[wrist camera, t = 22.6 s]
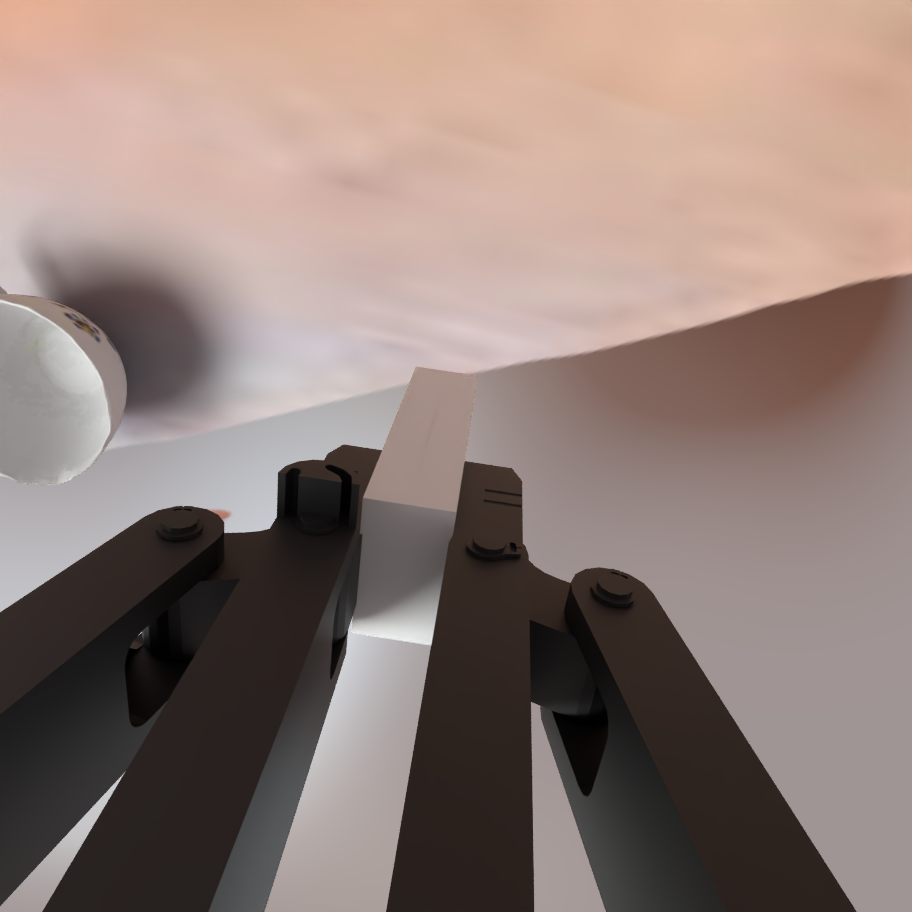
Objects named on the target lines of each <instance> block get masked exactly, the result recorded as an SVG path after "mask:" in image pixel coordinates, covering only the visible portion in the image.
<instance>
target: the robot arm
mask: <svg viewBox="0 0 912 912" xmlns="http://www.w3.org/2000/svg"><path fill="white" fill-rule="evenodd" d="M477 378H478V376H474V375H468V374H461V373H455V372H448V371H441V370H435V369H428V368H421V367H416V368H415V371H414V373H413V376H412V378H411V381H410V383H409V386H408V388H407V391H406V393H405V396H404V398H403V400H402V403H401V405H400V408H399V411H398V413H397V415H396V418H395V420H394V423H393V425H392V427H391V430H390V432H389V435H388V437H387V440H386V442H385V445H384V447H383V450H376V449H369V448H362V447H356V446H349V445H342V446H340V447H339V448H337V449H335V450H333V451H332V452H330V453H328V455H327V456H326V458H325V460H323V461H322V460H308V461H299V462H296V463H293V464H290V465H287V466H285V467H284V468H283V469H282V470H281V471H279V472H278V498H277V499H278V501H277V502H278V503H277V518H276V519H275V521H274V523H273V524H272V526H271V528H270V529H267V530H263V531H257V532H246V533H224V521H223V520H222V519H221V518H220V517H219V515H218V514H215V513H213V512H211V511H209V510H207V509H203V508H197V507H192V506H184V507H182V506H176V507H172V508H167V509H162V510H158V511H156V512H154V513H152V514H149V515H147V516H145V517H144V518H142V519H141V520H139V521H138V522H136V523H135V524H133V525H131V526H130V527H129V528H127V529H125V530H124V531H122V532H121V533H119V534H118V535H116V536H115V537H113V538H112V539H110V540H109V541H107V542H106V543H104V544H103V545H101V546H100V547H98V548H97V549H95V550H94V551H92V552H91V553H89V554H88V555H86V556H85V557H83V558H82V559H80V560H79V561H77V562H76V563H74V564H73V565H71V566H70V567H68V568H67V569H65V570H64V571H62V572H61V573H59V574H57V575H56V576H55V577H53V578H51V579H50V580H49V581H47V582H45V583H44V584H42V585H41V586H39V587H38V588H36V589H35V590H33V591H32V592H30V593H29V594H27V595H26V596H24V597H23V598H21V599H20V600H18V601H17V602H15V603H14V604H12V605H11V606H9V607H8V608H6V609H5V610H3V611H2V612H0V906H1V905H2V904H3V902H4V901H5V900H6V899H7V898H8V897H9V896H10V895H11V894H12V893H13V891H15V890H16V888H17V887H18V886H19V885H20V884H21V883H22V882H23V881H24V880H25V879H26V878H27V877H28V875H29V874H30V873H31V872H32V871H33V870H34V869H35V868H36V867H37V866H38V865H39V864H40V863H41V862H42V861H43V859H44V858H45V857H46V856H47V855H48V854H49V853H50V852H51V851H52V850H53V849H54V847H56V845H57V844H58V843H59V842H60V841H61V840H62V839H63V838H64V837H65V836H66V835H67V834H68V833H69V831H70V830H71V829H72V828H73V827H74V826H75V825H76V824H77V823H78V822H79V821H80V820H81V819H82V817H83V816H84V815H85V814H86V813H87V812H88V811H89V810H90V809H91V808H92V806H93V805H94V804H96V802H97V801H98V800H99V799H100V798H101V797H102V796H103V795H104V794H105V793H106V792H107V791H108V790H109V788H110V787H111V786H112V785H113V784H114V783H115V782H116V781H117V780H118V779H119V778H120V777H121V776H122V775H123V773H124V772H125V771H126V772H125V774H124V775H123V777H122V779H121V780H120V782H119V784H118V785H117V787H116V789H115V790H114V792H113V794H112V796H111V797H110V799H109V800H108V802H107V804H106V805H105V807H104V809H103V810H102V812H101V814H100V816H99V817H98V819H97V821H96V822H95V824H94V826H93V828H92V829H91V831H90V832H89V834H88V836H87V837H86V839H85V841H84V843H83V844H82V846H81V848H80V850H79V851H78V853H77V854H76V856H75V858H74V860H73V861H72V863H71V865H70V866H69V868H68V869H67V871H66V873H65V875H64V876H63V878H62V880H61V881H60V883H59V885H58V886H57V888H56V890H55V892H54V893H53V895H52V896H51V898H50V900H49V902H48V903H47V905H46V907H45V908H44V910H43V911H42V912H264V911H265V908H266V904H267V901H268V898H269V895H270V892H271V888H272V886H273V882H274V879H275V876H276V873H277V870H278V866H279V863H280V860H281V857H282V854H283V850H284V848H285V844H286V841H287V838H288V835H289V832H290V828H291V825H292V822H293V819H294V816H295V813H296V809H297V806H298V803H299V800H300V797H301V794H302V791H303V788H304V784H305V781H306V778H307V775H308V772H309V769H310V765H311V762H312V759H313V756H314V753H315V750H316V746H317V743H318V740H319V737H320V734H321V731H322V727H323V724H324V721H325V718H326V715H327V712H328V708H329V705H330V702H331V699H332V696H333V693H334V690H335V686H336V683H337V680H338V677H339V674H340V671H341V667H342V664H343V661H344V658H345V655H346V647H347V635H348V628H349V625H350V622H351V619H352V616H353V621H352V632H351V633H355V634H361V635H368V636H375V637H381V638H387V639H393V640H400V641H406V642H413V643H419V644H426V645H431V650H430V656H429V662H428V668H427V674H426V680H425V686H424V692H423V697H422V703H421V709H420V715H419V721H418V727H417V733H416V739H415V745H414V751H413V757H412V762H411V769H410V774H409V780H408V786H407V792H406V798H405V804H404V810H403V815H402V821H401V827H400V833H399V839H398V845H397V851H396V857H395V863H394V869H393V875H392V881H391V887H390V892H389V898H388V904H387V910H386V912H534V869H533V810H532V809H533V808H532V751H531V749H532V747H531V702H533V703H536V704H538V705H540V706H541V707H540V710H541V719H542V723H543V726H544V729H545V731H546V735H547V738H548V741H549V743H550V746H551V749H552V752H553V755H554V758H555V761H556V764H557V767H558V770H559V773H560V776H561V779H562V782H563V785H564V788H565V791H566V794H567V797H568V800H569V803H570V806H571V809H572V812H573V815H574V818H575V821H576V824H577V826H578V830H579V833H580V835H581V838H582V842H583V845H584V848H585V850H586V854H587V856H588V859H589V862H590V865H591V868H592V871H593V874H594V877H595V880H596V883H597V886H598V889H599V892H600V895H601V898H602V901H603V904H604V907H605V910H606V912H856V910H855V909H854V907H853V905H852V904H851V902H850V901H849V899H848V898H847V896H846V894H845V893H844V892H843V890H842V888H841V887H840V885H839V884H838V882H837V880H836V879H835V877H834V876H833V874H832V873H831V871H830V869H829V868H828V866H827V865H826V863H825V862H824V860H823V858H822V857H821V855H820V854H819V852H818V851H817V849H816V848H815V846H814V844H813V843H812V841H811V840H810V838H809V837H808V835H807V833H806V832H805V830H804V829H803V827H802V826H801V824H800V823H799V821H798V819H797V818H796V816H795V815H794V813H793V812H792V810H791V808H790V807H789V805H788V804H787V802H786V801H785V799H784V797H783V796H782V794H781V793H780V791H779V790H778V788H777V787H776V785H775V783H774V782H773V780H772V779H771V777H770V776H769V774H768V773H767V771H766V769H765V768H764V766H763V765H762V763H761V762H760V760H759V759H758V757H757V755H756V754H755V752H754V751H753V749H752V747H751V746H750V744H749V743H748V741H747V740H746V738H745V737H744V735H743V733H742V732H741V730H740V729H739V727H738V726H737V724H736V722H735V721H734V719H733V718H732V716H731V715H730V713H729V712H728V710H727V708H726V707H725V705H724V704H723V702H722V701H721V699H720V697H719V696H718V694H717V693H716V691H715V690H714V688H713V687H712V685H711V683H710V682H709V680H708V679H707V677H706V676H705V674H704V672H703V671H702V669H701V668H700V666H699V665H698V663H697V661H696V660H695V659H694V657H693V655H692V654H691V652H690V651H689V649H688V647H687V646H686V645H685V643H684V641H683V640H682V638H681V637H680V635H679V633H678V632H677V630H676V629H675V627H674V625H673V624H672V622H671V621H670V619H669V618H668V616H667V615H666V613H665V611H664V610H663V608H662V607H661V605H660V604H659V602H658V600H657V599H656V597H655V596H654V594H653V593H652V592H651V591H650V590H649V589H648V587H647V586H646V585H645V584H644V583H642V582H641V581H639V580H638V579H636V578H634V577H632V576H631V575H629V574H626V573H624V572H620V571H618V570H614V569H606V568H591V569H585V570H583V571H581V572H579V573H577V574H575V576H574V578H573V580H572V582H571V583H569V582H566V581H563V580H560V579H558V578H555V577H553V576H551V575H548V574H546V573H544V572H543V571H541V570H540V569H538V568H536V567H535V566H534V565H533V564H532V563H531V562H530V561H529V560H528V559H529V558H528V552H527V550H526V547H525V545H524V544H523V535H522V534H523V533H522V532H523V531H522V481H521V479H520V478H519V477H518V476H517V474H516V473H515V472H514V470H513V469H512V468H506V467H499V466H493V465H486V464H479V463H473V462H466V461H465V457H466V450H467V444H468V437H469V430H470V424H471V417H472V411H473V404H474V397H475V391H476V385H477ZM141 632H142V633H141ZM140 633H141V634H140ZM139 634H140V635H139ZM138 635H139V636H138Z"/></svg>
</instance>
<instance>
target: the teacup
mask: <svg viewBox="0 0 912 912" xmlns="http://www.w3.org/2000/svg"><path fill="white" fill-rule="evenodd" d="M126 398H127V381H126V374H125V369H124V366H123V363H122V360H121V358H120V355H119V353H118V351H117V350H116V348H115V346H114V345H113V343H112V342H111V340H110V339H109V338H108V337H107V335H106V334H105V333H104V332H103V331H102V330H101V329H100V328H99V327H98V326H97V325H96V324H95V323H93V322H92V321H91V320H89V319H88V318H87V317H85V316H84V315H82V314H80V313H79V312H77V311H75V310H74V309H71V308H69V307H67V306H65V305H63V304H60V303H57V302H54V301H51V300H47V299H44V298H39V297H35V296H27V295H16V294H7V293H6V291H5V290H4V289H2V288H1V287H0V475H2V476H5V477H8V478H10V479H13V480H15V481H17V482H18V483H24V484H32V483H37V484H41V485H49V484H50V485H58V484H60V483H62V482H67V481H69V480H71V479H73V478H75V477H76V476H77V475H79V474H81V473H83V472H85V471H86V470H87V469H89V468H90V467H91V466H92V465H93V464H94V463H95V461H96V460H97V459H98V458H99V456H100V455H101V454H102V452H103V451H104V449H105V448H106V447H107V445H108V444H109V442H110V441H111V439H112V438H113V436H114V434H115V433H116V431H117V429H118V427H119V424H120V422H121V419H122V417H123V413H124V410H125V406H126Z"/></svg>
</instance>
